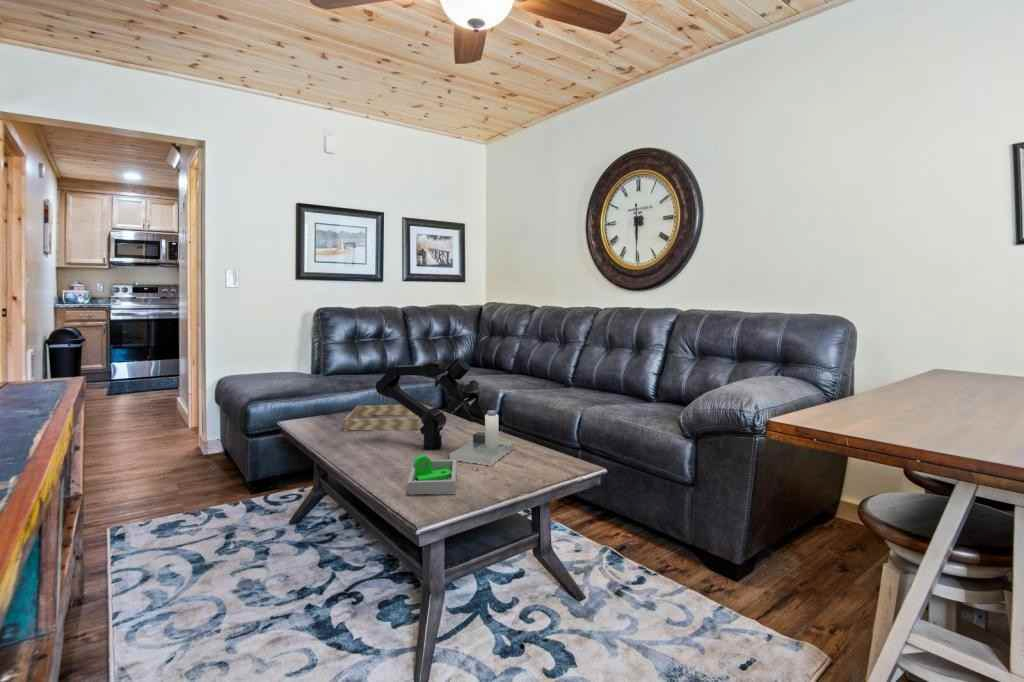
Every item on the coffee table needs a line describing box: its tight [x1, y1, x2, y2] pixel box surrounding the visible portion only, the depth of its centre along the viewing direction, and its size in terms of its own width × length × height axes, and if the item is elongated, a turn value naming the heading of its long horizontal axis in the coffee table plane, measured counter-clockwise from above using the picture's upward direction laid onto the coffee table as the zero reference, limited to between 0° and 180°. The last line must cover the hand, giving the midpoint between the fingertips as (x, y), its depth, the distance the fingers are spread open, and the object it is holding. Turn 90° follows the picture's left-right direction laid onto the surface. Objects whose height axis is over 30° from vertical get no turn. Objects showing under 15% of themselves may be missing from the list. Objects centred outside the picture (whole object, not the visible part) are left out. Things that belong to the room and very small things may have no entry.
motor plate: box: [449, 431, 515, 467], centre depth 201 cm, size 16×22×6 cm
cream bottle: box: [484, 409, 500, 450], centre depth 199 cm, size 5×5×14 cm
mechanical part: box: [412, 454, 452, 481], centre depth 175 cm, size 12×6×8 cm, turn 119°
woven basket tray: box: [343, 404, 422, 431], centre depth 248 cm, size 32×28×5 cm
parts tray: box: [406, 459, 458, 495], centre depth 172 cm, size 14×20×4 cm
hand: (478, 418), depth 200 cm, fingers open, 9 cm apart
